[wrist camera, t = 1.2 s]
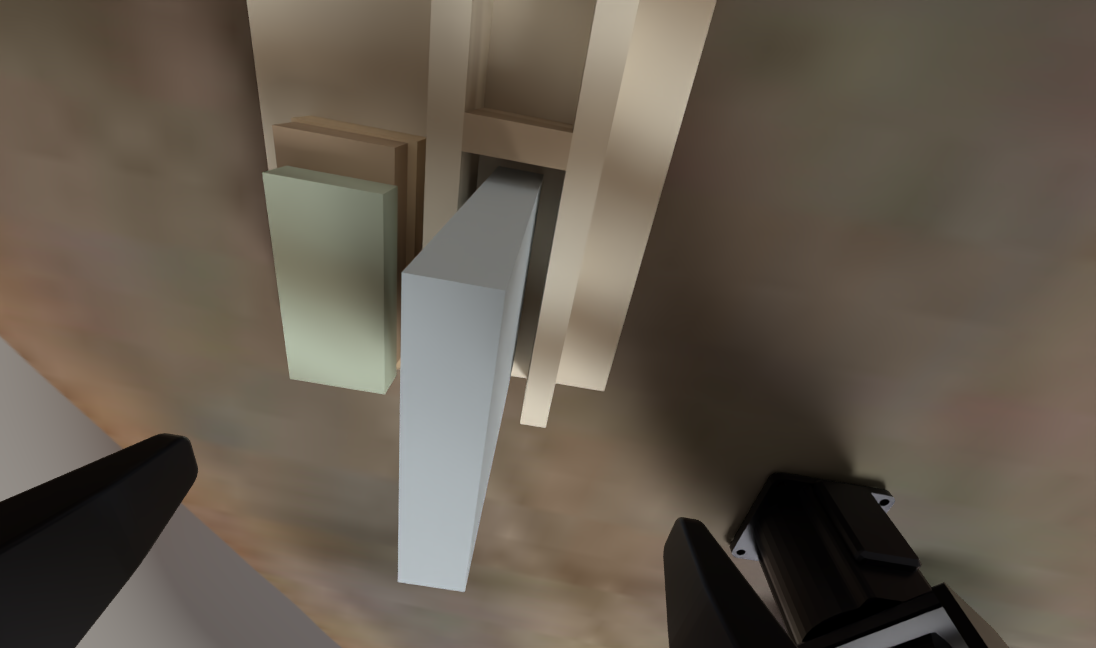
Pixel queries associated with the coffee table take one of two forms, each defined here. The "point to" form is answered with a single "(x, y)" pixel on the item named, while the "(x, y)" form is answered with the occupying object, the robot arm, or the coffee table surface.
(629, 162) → the rack
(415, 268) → the sheet
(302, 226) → the offcut stack
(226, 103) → the coffee table surface
